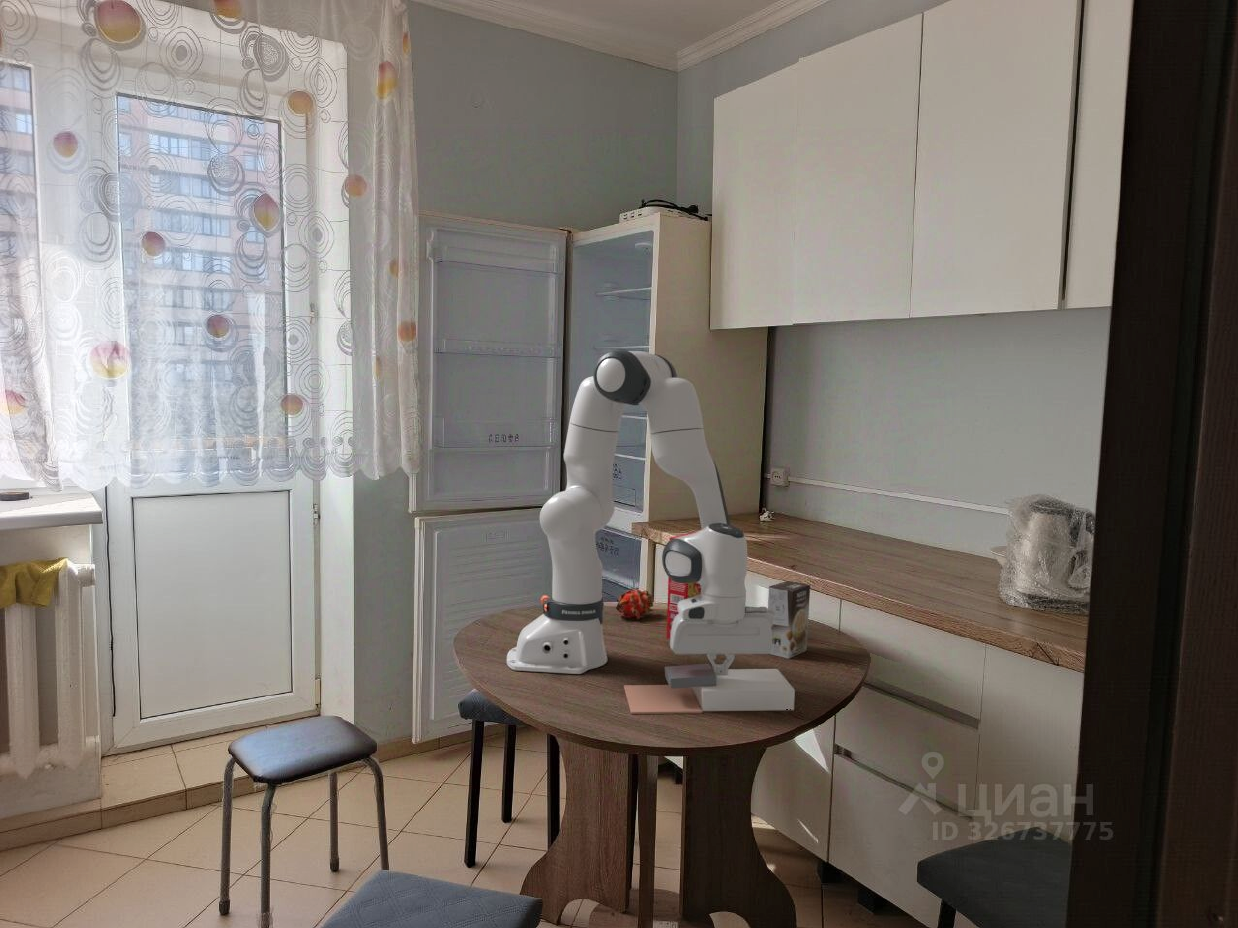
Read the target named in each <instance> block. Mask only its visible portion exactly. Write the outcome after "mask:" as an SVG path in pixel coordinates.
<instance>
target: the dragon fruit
mask: <svg viewBox="0 0 1238 928" xmlns="http://www.w3.org/2000/svg"><path fill="white" fill-rule="evenodd" d="M635 589H636V590H631V589H628V590H626V592H624V593H621V594H620V595H619V600H618V602H617V605H616V606H615V609H616V611H617V612H619V615H620V618H621V619H628V620H629V619H631V618H634V617H635V618H636V620H640V619H641V618H644V617H645V614H649V613H651V612H653V610H654V609H653V608H652V607H653V606H654V602H653V601H654V599H653V598H654V597H653V595H651V593H649V591H648V590H645V589H644V590H640V589H639V587H636V588H635ZM651 608H652V609H651Z"/></svg>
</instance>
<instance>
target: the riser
mask: <svg viewBox="0 0 1238 928" xmlns="http://www.w3.org/2000/svg"><path fill="white" fill-rule="evenodd" d="M716 684H717V685H714V686H702V687H691V689H692V691H693V693H694V695H695V697H696V699H697V701H698V703H699V705H700V707H701V709H702V712H738V711H739V712H745V711H746V712H748V711H749V712H750V711H753V712H754V711H757V712H758V711H794V710H795V696H796V695H795V694H796V693H795V692H796V690H795V689H794V687H793V686H792V685H791V684H790V683H789V681H788V679H786V677H785V675H783V674H782V672H780V670H779V669H778V668H739V669H738V668H728V675H716ZM786 709H788V710H786ZM790 709H791V710H790Z"/></svg>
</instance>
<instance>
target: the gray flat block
mask: <svg viewBox="0 0 1238 928" xmlns="http://www.w3.org/2000/svg"><path fill="white" fill-rule="evenodd" d="M664 677H665V679H666V681H667V685H669V686H670V688H671V689H677V688H689V687H702V686H714V685H717V684H716V674H715V673H714V671H713V669H712V665H710V664H709V663H708V662H707V663H694V664H685V665H684V664H683V665H682V664H681V665H670V666H664Z"/></svg>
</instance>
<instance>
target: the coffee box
mask: <svg viewBox="0 0 1238 928" xmlns="http://www.w3.org/2000/svg"><path fill="white" fill-rule="evenodd" d="M810 593H811V585H810V584H807V583H802V582H797V581H796V582H795V581H789V580H787V581H783V582H779V583H776V584H772V585H769V586H768V598H767V600H768V601H767V609H769V610H771V611H772V612H773V615H774V621H773V626H772V627H771V630H772V642H773V648H772V650H771V651H770V653H769V654H768V655H772V656H776V657H778V658H779V657H780V658H784V659H786V660H787V659H792V658H793V657H795V656H798V655H800V654H802V653H804V652H806V651H807V648H808V647H807V646H808V631H809V615H810V598H811V597H810V596H811V594H810ZM767 612H769V611H767Z"/></svg>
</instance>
